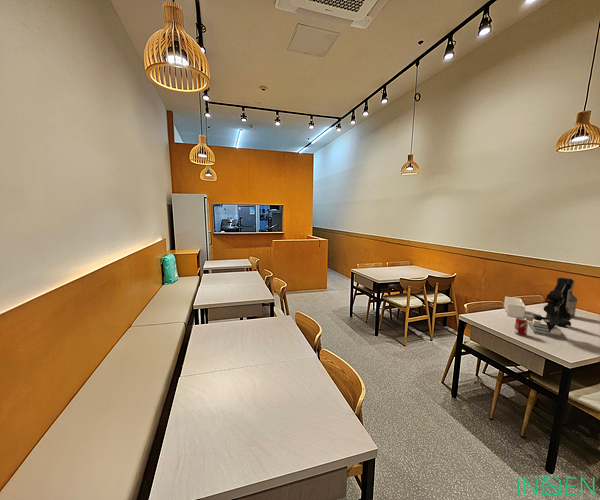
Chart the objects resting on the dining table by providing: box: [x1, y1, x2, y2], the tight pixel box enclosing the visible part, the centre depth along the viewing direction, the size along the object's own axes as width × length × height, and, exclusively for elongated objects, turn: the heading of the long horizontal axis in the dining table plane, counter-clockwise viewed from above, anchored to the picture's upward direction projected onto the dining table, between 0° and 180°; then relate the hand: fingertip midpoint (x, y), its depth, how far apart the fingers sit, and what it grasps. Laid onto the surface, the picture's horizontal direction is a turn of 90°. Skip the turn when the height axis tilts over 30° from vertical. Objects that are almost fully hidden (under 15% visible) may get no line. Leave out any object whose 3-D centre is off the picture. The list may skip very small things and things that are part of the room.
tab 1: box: [532, 318, 542, 326], centre depth 189 cm, size 3×4×5 cm
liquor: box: [567, 284, 578, 319], centre depth 210 cm, size 9×9×30 cm
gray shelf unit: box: [528, 321, 566, 340], centre depth 182 cm, size 19×16×2 cm
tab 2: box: [551, 327, 562, 335], centre depth 175 cm, size 3×4×5 cm
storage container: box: [503, 295, 526, 318], centre depth 217 cm, size 25×11×11 cm, turn 145°
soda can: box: [513, 317, 529, 336], centre depth 177 cm, size 7×7×12 cm
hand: (549, 330), depth 177 cm, fingers closed
